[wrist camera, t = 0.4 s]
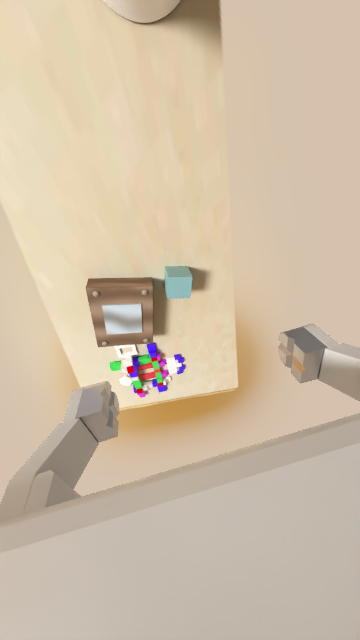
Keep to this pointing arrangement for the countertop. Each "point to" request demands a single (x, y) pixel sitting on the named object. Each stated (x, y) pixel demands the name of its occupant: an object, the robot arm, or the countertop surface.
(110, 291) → the plinth
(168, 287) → the teal block
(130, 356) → the building block set
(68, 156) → the countertop surface
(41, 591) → the robot arm
